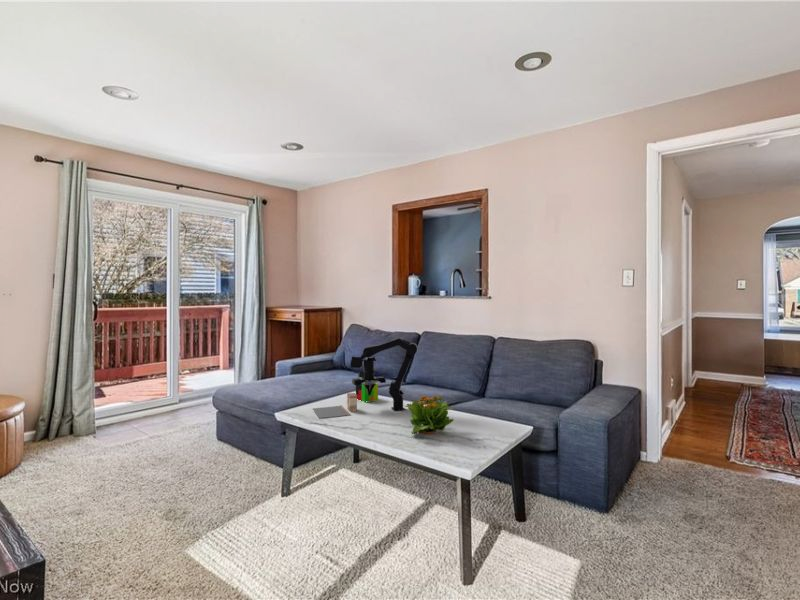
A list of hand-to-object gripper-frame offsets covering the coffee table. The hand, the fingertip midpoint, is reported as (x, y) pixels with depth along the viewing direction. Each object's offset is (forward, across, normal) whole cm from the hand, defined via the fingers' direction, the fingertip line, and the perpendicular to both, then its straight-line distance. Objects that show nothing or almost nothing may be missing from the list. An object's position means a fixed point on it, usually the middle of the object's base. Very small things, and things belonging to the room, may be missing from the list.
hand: (369, 395), depth 241 cm
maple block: (+7, +10, 0) cm, 12 cm away
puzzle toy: (+8, -5, -20) cm, 22 cm away
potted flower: (+8, -14, +49) cm, 51 cm away
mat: (+7, +22, 0) cm, 23 cm away
